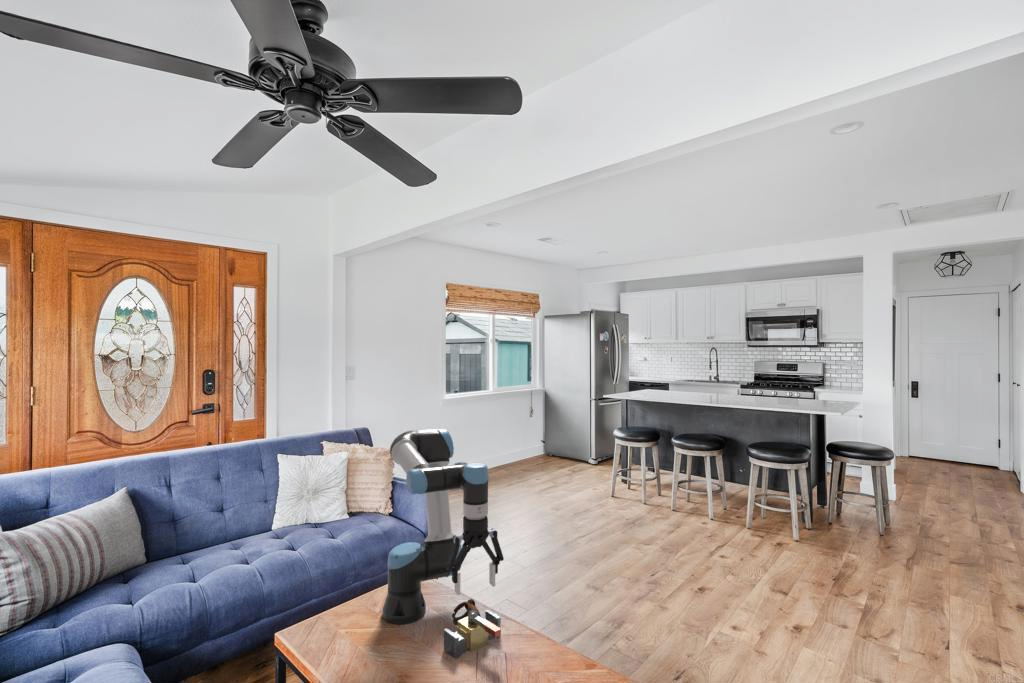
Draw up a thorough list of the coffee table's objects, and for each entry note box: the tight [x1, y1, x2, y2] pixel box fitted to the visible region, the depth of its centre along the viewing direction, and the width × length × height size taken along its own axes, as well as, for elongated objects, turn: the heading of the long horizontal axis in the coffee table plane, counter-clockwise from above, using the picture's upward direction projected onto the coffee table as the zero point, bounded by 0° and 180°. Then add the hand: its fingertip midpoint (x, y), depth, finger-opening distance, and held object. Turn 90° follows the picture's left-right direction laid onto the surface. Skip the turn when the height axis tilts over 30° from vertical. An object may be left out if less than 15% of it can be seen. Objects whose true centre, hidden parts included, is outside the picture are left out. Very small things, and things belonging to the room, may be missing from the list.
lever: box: [468, 610, 502, 639], centre depth 155 cm, size 14×3×2 cm, turn 42°
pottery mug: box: [451, 598, 482, 627], centre depth 171 cm, size 12×10×8 cm
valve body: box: [443, 609, 502, 661], centre depth 159 cm, size 7×18×7 cm, turn 132°
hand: (475, 588), depth 150 cm, fingers open, 11 cm apart
